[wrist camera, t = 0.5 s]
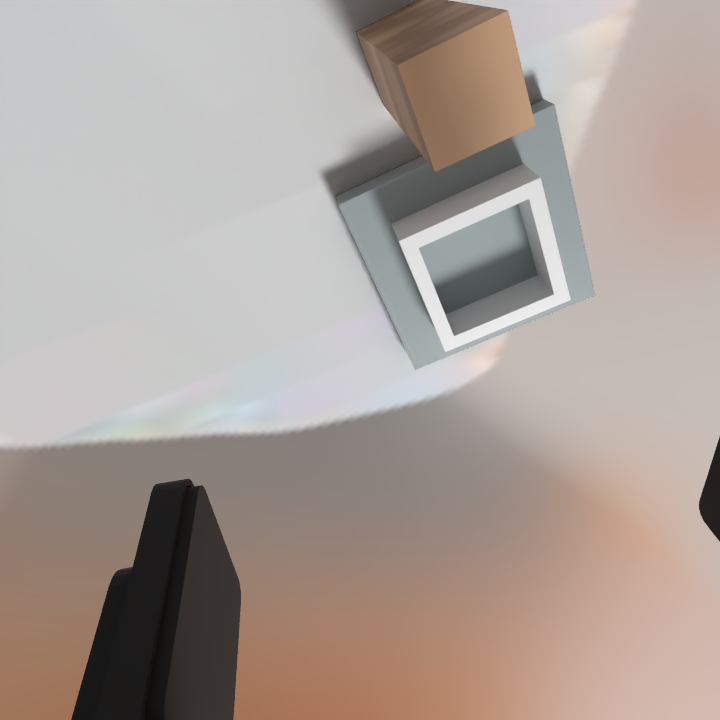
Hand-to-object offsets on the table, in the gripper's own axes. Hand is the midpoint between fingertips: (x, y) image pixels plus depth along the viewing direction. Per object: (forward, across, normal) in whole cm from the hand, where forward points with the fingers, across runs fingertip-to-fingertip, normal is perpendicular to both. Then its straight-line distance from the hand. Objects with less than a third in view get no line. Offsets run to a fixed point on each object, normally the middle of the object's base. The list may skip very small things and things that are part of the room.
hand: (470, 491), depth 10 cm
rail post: (+25, -4, -4) cm, 25 cm away
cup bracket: (+25, -7, +6) cm, 26 cm away
